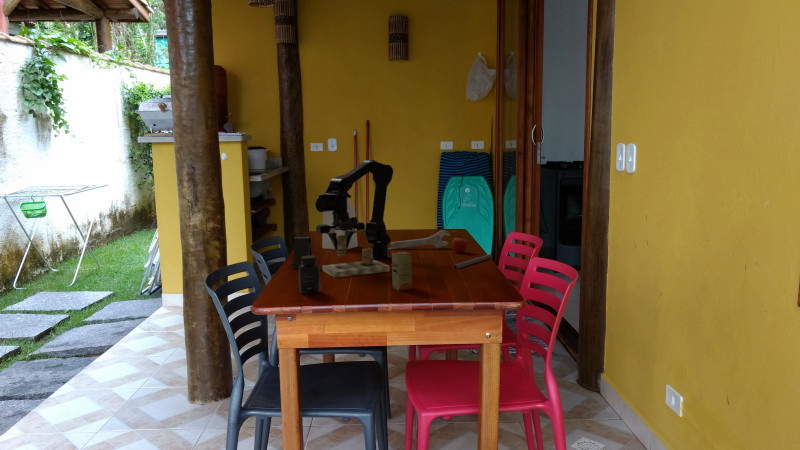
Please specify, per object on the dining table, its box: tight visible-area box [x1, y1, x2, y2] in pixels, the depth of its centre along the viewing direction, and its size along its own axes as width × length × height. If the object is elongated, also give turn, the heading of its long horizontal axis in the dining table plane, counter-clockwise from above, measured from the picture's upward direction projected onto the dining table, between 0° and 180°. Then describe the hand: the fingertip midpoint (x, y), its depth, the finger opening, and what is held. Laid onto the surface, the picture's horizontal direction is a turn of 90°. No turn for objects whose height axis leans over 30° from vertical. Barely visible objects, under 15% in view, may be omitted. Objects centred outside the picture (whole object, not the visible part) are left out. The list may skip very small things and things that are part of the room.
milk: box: [321, 198, 358, 251], centre depth 290 cm, size 12×12×26 cm
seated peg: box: [361, 247, 374, 266], centre depth 239 cm, size 4×4×8 cm
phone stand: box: [292, 236, 314, 270], centre depth 246 cm, size 9×6×12 cm, turn 174°
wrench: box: [387, 229, 451, 250], centre depth 285 cm, size 8×2×30 cm
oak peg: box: [335, 235, 348, 257], centre depth 247 cm, size 4×4×8 cm
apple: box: [450, 229, 468, 254], centre depth 272 cm, size 8×7×10 cm
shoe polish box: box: [391, 250, 413, 291], centre depth 208 cm, size 5×5×12 cm
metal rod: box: [452, 253, 493, 270], centre depth 250 cm, size 2×27×2 cm, turn 143°
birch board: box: [321, 259, 390, 278], centre depth 238 cm, size 22×14×2 cm, turn 116°
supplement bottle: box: [298, 255, 321, 296], centre depth 204 cm, size 7×7×12 cm
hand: (341, 248), depth 247 cm, fingers closed on oak peg, 4 cm apart
